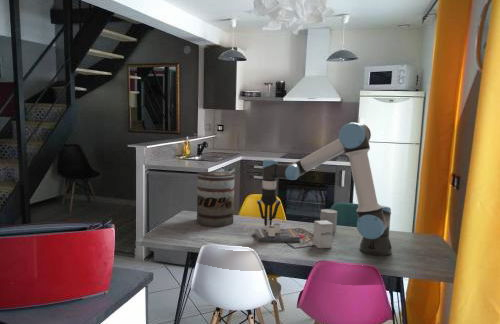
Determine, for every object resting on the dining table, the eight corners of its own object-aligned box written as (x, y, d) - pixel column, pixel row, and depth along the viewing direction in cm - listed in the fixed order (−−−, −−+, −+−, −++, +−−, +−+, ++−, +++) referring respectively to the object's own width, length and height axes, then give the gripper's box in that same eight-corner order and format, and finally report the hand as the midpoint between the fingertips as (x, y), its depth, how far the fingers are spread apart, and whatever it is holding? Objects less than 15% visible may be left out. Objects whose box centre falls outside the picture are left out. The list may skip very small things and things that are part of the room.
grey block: (337, 234, 209) (339, 213, 208) (321, 233, 209) (322, 212, 208) (334, 229, 218) (335, 209, 217) (318, 228, 219) (319, 208, 217)
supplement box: (319, 248, 183) (320, 224, 182) (312, 244, 190) (313, 220, 189) (332, 247, 185) (333, 223, 184) (325, 243, 192) (326, 219, 191)
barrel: (191, 225, 218) (192, 175, 214) (203, 216, 240) (204, 170, 236) (227, 228, 213) (229, 177, 210) (236, 218, 235) (238, 172, 232)
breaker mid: (280, 233, 197) (280, 224, 197) (274, 233, 197) (274, 224, 197) (279, 231, 200) (279, 223, 200) (273, 231, 200) (273, 223, 199)
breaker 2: (274, 236, 191) (275, 227, 191) (268, 236, 191) (269, 227, 191) (273, 234, 194) (274, 226, 194) (268, 234, 194) (268, 226, 193)
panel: (299, 241, 193) (300, 236, 193) (258, 242, 190) (259, 237, 190) (292, 233, 208) (292, 228, 207) (254, 233, 205) (254, 229, 204)
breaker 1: (270, 230, 202) (271, 221, 202) (265, 230, 202) (265, 221, 201) (269, 228, 205) (270, 220, 204) (264, 228, 204) (264, 220, 204)
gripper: (279, 187, 200) (277, 229, 202) (256, 186, 198) (254, 229, 200) (282, 189, 192) (280, 233, 195) (258, 189, 191) (256, 233, 193)
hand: (267, 231), depth 198 cm, fingers closed
